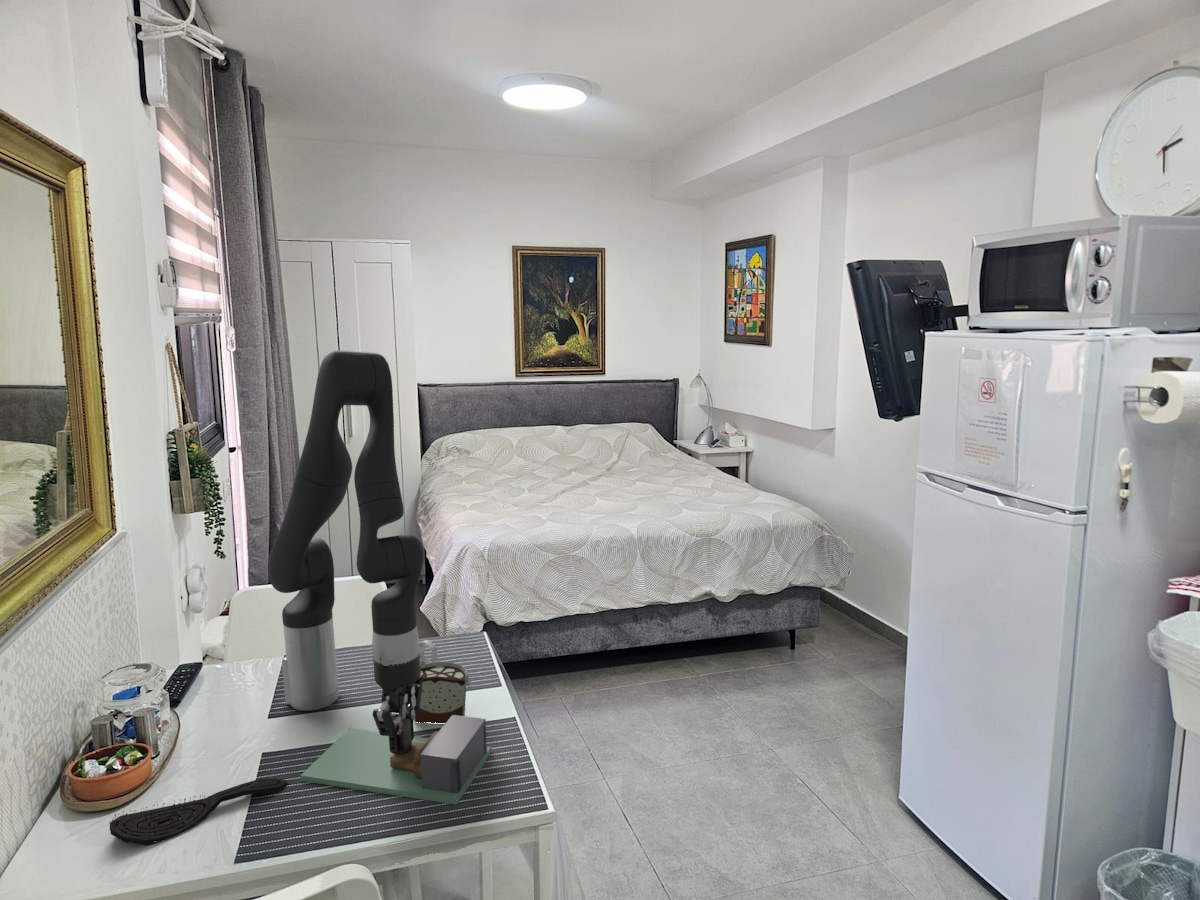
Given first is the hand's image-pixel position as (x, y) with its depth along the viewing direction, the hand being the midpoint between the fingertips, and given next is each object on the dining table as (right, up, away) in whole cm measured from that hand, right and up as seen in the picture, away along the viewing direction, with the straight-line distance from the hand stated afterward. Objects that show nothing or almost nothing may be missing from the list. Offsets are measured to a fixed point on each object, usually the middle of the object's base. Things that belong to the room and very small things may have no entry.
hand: (402, 745), depth 134 cm
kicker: (+2, -3, 0) cm, 3 cm away
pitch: (-1, -4, +1) cm, 4 cm away
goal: (+9, -4, -1) cm, 10 cm away
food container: (+4, -1, +17) cm, 18 cm away
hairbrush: (-29, -7, -10) cm, 31 cm away
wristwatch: (-4, +3, +39) cm, 40 cm away
